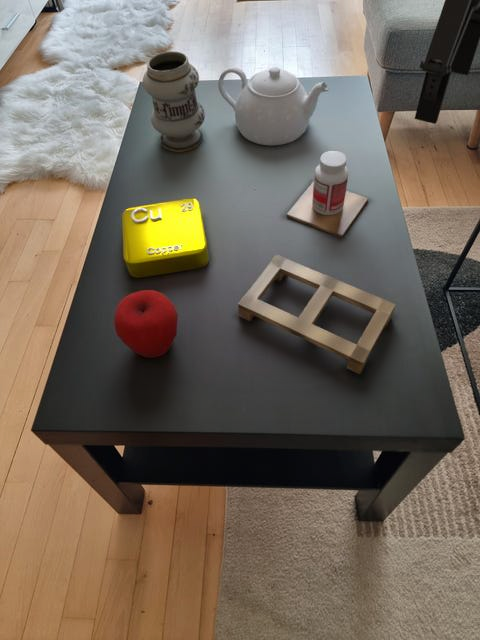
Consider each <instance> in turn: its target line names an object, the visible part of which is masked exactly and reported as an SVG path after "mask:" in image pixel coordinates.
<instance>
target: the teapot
mask: <svg viewBox="0 0 480 640" xmlns="http://www.w3.org/2000/svg"><path fill="white" fill-rule="evenodd" d="M231 73H233V74H236V75H237V76H238V77H239V78H240V79H241V90H240V92H239V93H238V94H239V95H238V96H237V99H236V100H234V99H233V98H232V97H231V96H230V95H229V93H228V92H227V91H226V89H225V86H224V80H225V78H226V76H227V75H228V74H231ZM218 78H219V79H218V80H217V81H218V82H217V86H218V91H219V94H220V95H221V97H222V98H223V99H224V100H225V102H227V103H228V105H230V107H231V108H232V109H233V111H234V118H235V123H236V127H237V129H238V131H239V132H240V134H241V135H242V136H243V137H244V138H245V139H247V140H248V141H250V142H251V143H254V144H257V145H263V146H282V145H286V144H289V143H292V142H293V141H296V140H298V139H299V138H300V137H302V135H304V133H305V132H306V130H307V128H308V126H309V123H310V119H311V118H312V116H313V115H314V113H315V110H316V108H317V106H318V102H319V101H318V100H319V97H320V95H321V93H325V92H326V93H327V92H328V91H329V86H328V84H327V83H326V82H324V81H321V82H318V83H316V84H315V85H314V86H312V89H311V90H310V92H309V93H308V92H307V90H306V88H305V87H304V85H303V84H302V83H301V82H300V80H299V78H298V77H297V76H296V75H295V74H293V73H291V72H289V71H288V70H285V69H282V68H279V67H278V66H272V67H270V68H267V69H263V70H262V71H260V72H257V73H255V74H253V75H251V77H250V78H249V79H248V77H247V75H246V73H245V72H244V70H243V69H241V68H239V67H237V66H229V67H227V68H225V69H224V70H223V71H222V72H221V74H220V75H219V77H218Z"/></svg>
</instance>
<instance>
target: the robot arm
mask: <svg viewBox="0 0 480 640" xmlns="http://www.w3.org/2000/svg"><path fill="white" fill-rule="evenodd" d="M479 43H480V0H444V3H443V5H442V9H441V11H440V15H439V17H438V21H437V23H436V27H435V30H434V32H433V35H432V39H431V41H430V44H429V47H428V50H427V53H426V56H425V59H424V61H423V60H421V61H420V65H419V69H421V71H422V72H425V75H424V78H423V83H422V86H421V91H420V95H419V100H418V103H417V108H416V111H415V114H414V115H415V116H414V120H417V121H421V122H426V123H430V124H433V125H436V124H437V123H438V120H439V116H440V113H441V110H442V106H443V103H444V99H445V96H446V92H447V89H448V85H449V81H450V79H451V74H452V73H455V74H460V75H465V76H468V75H469V74H470V71H471V69H472V65H473V62H474V59H475V56H476V52H477V49H478V47H479Z"/></svg>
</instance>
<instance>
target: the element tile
mask: <svg viewBox="0 0 480 640" xmlns="http://www.w3.org/2000/svg"><path fill="white" fill-rule="evenodd" d="M202 213H203V212H202V208H201V203H200V202H199V200H197V199H196V198H184V199H176V200H170V201H163V202H158V203H157V202H156V203H151V204H143V205H138V206H132V207H129V208H127V209H125V210H124V211H123V213H122V216H121V218H122V221H121V222H122V223H121V224H122V249H123V250H122V251H123V260H124V263H125V265H126V266H125V267H126V269H127V271H128V273H129V275H130V276H131V277H133V278H137V279H141V278H149V277H153V276H160V275H167V274H172V273H178V272H179V273H180V272H185V271H192V270H197V269H201V268H204V267H206V266H207V265H208V264H209V261H210V254H209V248H208V241H207V236H206V230H205V225H204V220H203V214H202Z"/></svg>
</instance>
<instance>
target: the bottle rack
mask: <svg viewBox="0 0 480 640" xmlns="http://www.w3.org/2000/svg"><path fill="white" fill-rule="evenodd" d="M284 276H286V277H289V278H291V279H293V280H296V281H298V282H301V283H303V284H305V285H308V286H310V287H312V288H314V289H317V290H316V291H315V292H314V294H313V295H312V297H311V298H310V300H309V301H308V303H307V304H306V305H305V307H304V309H303V310H302V312H301V313H300V314H299V316H296V315H294V314H292V313H290V312H287V311H285V310H284V309H283V310H282V309H280V308H278V307H276V306H274V305H272V304H270V303H267V302H265V301H263V300H261V299H262V298H263V296H264V295H265V294H266V293H267V291H268V290H269V288H270V287H271V286H272V284H273V283H274V282H275V281H277V282H281V281H282V280H283V278H284ZM332 297H336V298H337V299H340V300H342V301H345V302H347V303H349V304H351V305H354V306H356V307H359V308H360V309H363V310H366V311H367V312H370V313H373V316H372V317H371V319H370V321H369V323H368V324H367V326H366V328H365V329H364V331H363V332H362V335H361V336H360V338H359V340H358V342H357V343H354V342H352V341H350V340H348V339H345V338H343V337H341V336H339V335H337V334H335V333H332V332H330V331H328V330H326V329H324V328H321V327H320V326H318V325H315V323H316V321H317V320H318V318H319V317H320V315H321V314H322V312H323V311H324V309H325V308H326V306H327V305H328V303H329V302H330V300H331V298H332ZM237 305H238V317H240V318H242V319H244V320H246V321H248V322H251V321H252V320H253V318H254V317H256V318H259V319H261V320H262V321H265V322H267V323H269V324H270V325H273V326H276V327H277V328H279V329H282V330H284V331H286V332H288V333H290V334H292V335H294V336H296V337H298V338H300V339H301V340H302V339H303V340H304V341H306V342H308V343H311V344H313V345H315V346H317V347H319V348H322V349H323V350H325V351H328V352H330V353H332V354H334V355H336V356H338V357H340V358H341V359H345V360H347V366H346V369H348V370H350V371H351V372H354V373H356V374H358V375H361V373H362V372H363V370H364V368H365V366H366V364H367V362H368V359H369V356H370V354H371V352H372V350H373V348H374V347H375V345H376V344H377V341H378V339H379V338H380V336H381V334H382V332H383V330H384V329H385V328H387V326H388V325H389V323H390V321H391V319H392V318H393V314H394V311H395V309H396V306H397V304H396V303H393V302H391V301H389V300H386V299H384V298H381V297H379V296H376V295H374V294H372V293H370V292H367V291H365V290H362V289H360V288H357V287H355V286H353V285H350V284H348V283H346V282H343V281H341V280H338V279H336V278H334V277H331V276H329V275H327V274H324V273H321V272H319V271H317V270H315V269H312V268H310V267H307V266H305V265H302V264H300V263H298V262H296V261H293V260H290V259H288V258H285V257H283V256H281V255H279V254H275V256H274V257H273V258H272V260H271V261H270V262H269V264H267V266H266V267H265V269H264V270H263V272H261V274H260V275H259V276H258V277H257V279H256V280H255V282H254V283H253V284H252V285H251V287H250V288H249V289H248V290H247V292H246V293H245V294H244V295H243V297H242V298H241V300H240V301H239V302H238V303H237Z"/></svg>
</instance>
